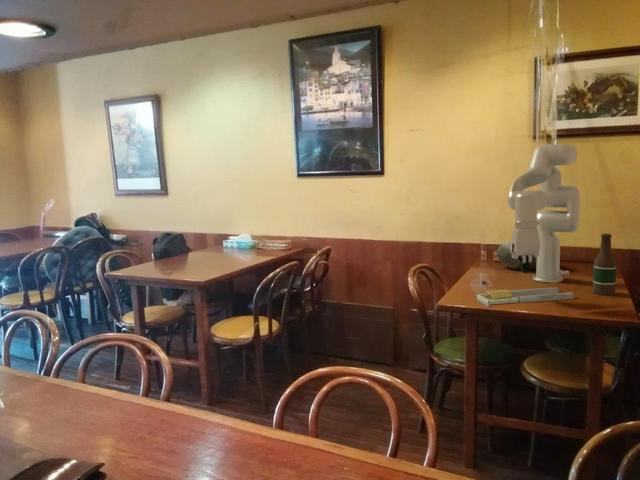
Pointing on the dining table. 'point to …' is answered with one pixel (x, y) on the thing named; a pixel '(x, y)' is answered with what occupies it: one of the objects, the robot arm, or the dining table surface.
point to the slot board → (540, 294)
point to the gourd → (507, 259)
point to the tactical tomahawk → (484, 284)
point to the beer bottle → (604, 269)
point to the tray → (484, 296)
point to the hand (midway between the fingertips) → (525, 272)
